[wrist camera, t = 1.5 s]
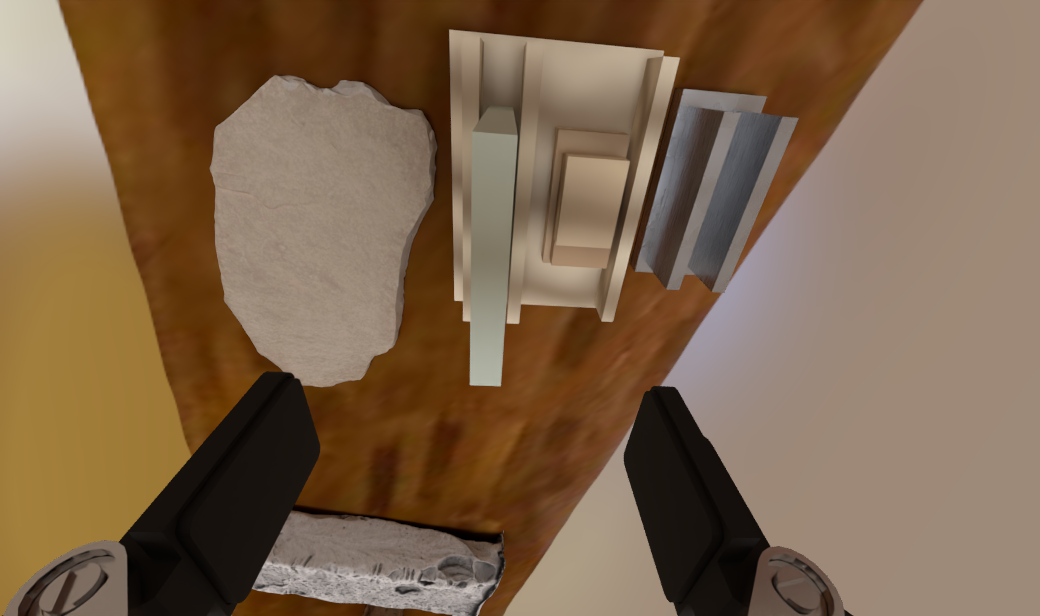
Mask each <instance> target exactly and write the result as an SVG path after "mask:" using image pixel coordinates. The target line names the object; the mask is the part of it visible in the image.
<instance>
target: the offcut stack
mask: <svg viewBox="0 0 1040 616" xmlns="http://www.w3.org/2000/svg"><path fill="white" fill-rule="evenodd" d="M629 139H630V135H629V134H627V133H624V132H612V131H600V130H588V129H576V128H564V127H556V135H555V143H554V152H553V160H552V169H551V177H550V186H549V194H548V203H547V212H546V220H545V229H544V237H543V246H542V254H541V256H542V261H543V263H551V265H553V266H570V267H587V268H604V269H606V268H607V263H608V259H609V254H610V250H611V245H612V241H613V236H614V232H615V227H616V223H617V218H618V214H619V209H620V205H621V200H622V196H623V191H624V187H625V182H626V178H627V173H628V169H629V164H630V161H629V160H628V159H626V153H627V149H628V144H629Z"/></svg>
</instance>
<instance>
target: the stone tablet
mask: <svg viewBox="0 0 1040 616" xmlns="http://www.w3.org/2000/svg"><path fill="white" fill-rule="evenodd" d="M437 148H438V146H437V143H436V140H435V135H434V130H432V128H431V125H430V124H429V122H428V121H427V119H426V118H425V116H424V114H423V112H422V111H421V110H418V109H412V110H408V109H406V110H404V109H403V110H402V109H400V108H397V107H395V106H391V105H390V104H389V102H388V101H387V100H386V99H385V98H384V97H383V96H382V95H381V94H380V93H379V92H377V91H376V90H375V89H374V88H372V87H371V86H369V85H367V84H365V83H363V82H357V81H347V80H343V81H340V82H339V84H338V85H337V86H335V87H333V88H329V89H328V88H324V89H323V88H321V89H320V88H318V87H316V86H314V85H312V84H308V83H307V81H305V80H304V79H302V78H299V77H296V76H288V75H287V76H277V75H275V76H274V77H272V78H271V79H270V80H269V81H267V82H266V83H265V84H264V85H263V86H262V87H260V88H259V89H258V90H257V91H256V92H255V94H254V95H253V96H252V97H251V98H250V99H249V100H248V101H246V102H245V103H244V104H243V105H241V106H240V107H239V108H238V109H237V110H236V111H235V112H234V113H233V114H232V115H231V116H230V117H229V118H227V119H226V120H225V121H224V122H222V123H221V124H219V125H218V126H217V127H216V129H215V132H214V151H213V158H212V164H211V166H210V171H211V173H212V175H213V180H214V184H215V188H216V198H215V215H214V218H215V244H216V251H217V257H218V263H219V267H220V271H221V280H222V285H223V289H224V293H225V294H224V301H225V303H226V304H227V305H228V306H229V308H230V309H231V311H232V312H233V313H234V315H235V316H236V318H237V319H238V320H239V321H240V323H241V324H242V326H243V328H244V330H245V331H246V334H247V335H248V336H249V337H250V338H251V340H252V342H253V344H254V345H255V347H256V349H257V351H258V352H259V353H260V354H261V355H263V356H265V357H266V358H268V359H269V360H271V361H272V362H273V363H275V364H276V365H277V366H278V367H280V368H281V370H282V371H283V372H291V373H292V374H293V375H294V377H295V378H298V379H300V381H301V384H302V385H313V386H318V387H326V386H334V385H335V384H338V383H341V382H345V381H349V380H353V381H354V380H360V379H361V378H362V377H363V376H364V375H365V373H366V372H367V370H368V368H369V365H370V362H371V360H372V359H373V357H374V356H376V355H379V354H382V353H385V352H387V351H388V350H389V349H390V348H392V347H393V346H394V345H395V342H396V340H397V337H398V331H399V327H400V325H401V322H402V313H403V307H404V306H403V304H404V297H403V294H404V289H403V287H404V277H405V275H406V272H405V270H406V268H407V265H408V259H409V253H410V250H411V245H412V242H413V239H414V237H415V235H416V233H417V231H418V227H419V225H420V223H421V221H422V219H423V217H424V216H425V214H426V212H427V210H428V209H429V207H430V205H431V203H432V202H433V200H434V195H433V187H434V177H435V172H436V166H435V155H436V151H437Z"/></svg>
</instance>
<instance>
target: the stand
mask: <svg viewBox="0 0 1040 616" xmlns="http://www.w3.org/2000/svg"><path fill="white" fill-rule="evenodd" d="M766 98H767V97H766V96H755V95H744V94H734V93H723V92H712V91H701V90H690V89H677V88H676V89H675V93H674V97H673V101H672V105H671V108H670V112H669V116H668V120H667V124H666V128H665V132H664V135H663V139H662V143H661V147H660V151H659V155H658V159H657V162H656V166H655V170H654V174H653V178H652V182H651V186H650V190H649V193H648V197H647V201H646V205H645V209H644V213H643V217H642V220H641V224H640V228H639V232H638V236H637V240H636V244H635V247H634V251H633V255H632V259H631V263H630V265H631V266H632V268H633V269H634V271H636V272H653V273H654V274H655V275H656V276H657V278H658V279H659V280H660V282H661V283H662V284H663V286H664V287H665V288H666V289H669V290H679V289H680V286H681V283H682V280H683V277H684V274H687V275H696V276H697V277H698V278H699V279H700V280H701V281H702V282H703V283H704V284H705V285H706V286H707V287H708V288H709V290H710V291H711V292H722V293H724V292H725V290H726V287H727V285H728V283H729V280H730V278H731V276H732V273H733V271H734V269H735V266H736V264H737V262H738V259H739V257H740V255H741V252H742V250H743V248H744V245H745V243H746V241H747V238H748V236H749V234H750V231H751V229H752V226H753V224H754V222H755V219H756V217H757V215H758V212H759V210H760V208H761V205H762V203H763V201H764V198H765V196H766V194H767V191H768V189H769V187H770V184H771V182H772V180H773V177H774V175H775V173H776V170H777V168H778V166H779V163H780V161H781V159H782V156H783V154H784V151H785V149H786V147H787V144H788V142H789V140H790V137H791V135H792V133H793V130H794V128H795V126H796V123H797V121H798V119H799V118H793V117H786V116H778V115H771V114H764V113H761V111H762V109H763V106H764V103H765V101H766Z"/></svg>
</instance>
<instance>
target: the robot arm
mask: <svg viewBox="0 0 1040 616" xmlns="http://www.w3.org/2000/svg"><path fill="white" fill-rule="evenodd" d="M319 454H320V443H319V440H318V436H317V433H316V430H315V427H314V423H313V420H312V417H311V413H310V410H309V407H308V404H307V400H306V397H305V394H304V390H303V387H302V384H301V381H300V379H298V378H295V377H294V375H293V374H292V373H291V372H269V371H267V372H265V373H263V374H262V375H261V376H260V377H259V378H258V380H257V381H256V382H255V383H254V384H253V385H252V387H251V388H250V389H249V390H248V391H247V393H246V394H245V395H244V396H243V397H242V398H241V400H240V401H239V402H238V403H237V404H236V405H235V407H234V408H233V409H232V410H231V411H230V412H229V414H228V415H227V416H226V417H225V418H224V419H223V421H222V422H221V423H220V424H219V425H218V426H217V428H216V429H215V430H214V431H213V432H212V433H211V434H210V436H209V437H208V438H207V439H206V440H205V441H204V443H203V444H202V445H201V446H200V447H199V448H198V450H197V451H196V452H195V453H194V454H193V455H192V457H191V458H190V459H189V460H188V461H187V463H186V464H185V465H184V466H183V467H182V468H181V470H180V471H179V472H178V473H177V474H176V475H175V477H174V478H173V479H172V480H171V481H170V482H169V484H168V485H167V486H166V487H165V488H164V490H163V491H162V492H161V493H160V494H159V495H158V496H157V498H156V499H155V500H154V501H153V502H152V503H151V505H150V506H149V507H148V508H147V509H146V511H145V512H144V513H143V514H142V515H141V516H140V518H139V519H138V520H137V521H136V522H135V523H134V525H133V526H132V527H131V528H130V529H129V530H128V532H127V533H126V534H125V535H124V536H123V537H122V539H121V540H120V541H119V542H117V541H107V540H104V541H98V542H93V543H89V544H86V545H83V546H81V547H78V548H76V549H73V550H71V551H69V552H67V553H66V554H64V555H62V556H60V557H58V558H57V559H55V560H53V561H52V562H50V563H49V564H48V565H46V566H45V567H44V568H42V569H41V570H39V571H38V572H37V573H35V574H34V575H33V576H32V577H31V578H30V579H29V580H28V581H27V582H26V583H25V584H24V585H23V586H22V587H21V588H20V589H19V591H18V592H17V593H16V594H15V596H14V597H13V598H12V600H11V601H10V602H9V604H8V606H7V609H6V611H5V613H4V615H3V616H231V614H232V613H233V611H234V609H235V607H236V605H237V603H241V602H242V601H244V600H245V599H246V597H247V596H248V594H249V593H250V591H251V589H252V587H253V585H254V583H255V581H256V579H257V577H258V575H259V573H260V571H261V569H262V567H263V565H264V563H265V562H266V560H267V558H268V556H269V554H270V552H271V550H272V548H273V546H274V544H275V542H276V540H277V538H278V536H279V534H280V532H281V530H282V528H283V526H284V524H285V522H286V520H287V518H288V516H289V514H290V512H291V511H292V509H293V507H294V505H295V503H296V501H297V499H298V497H299V495H300V493H301V491H302V489H303V487H304V485H305V483H306V481H307V479H308V477H309V475H310V473H311V471H312V469H313V467H314V465H315V463H316V461H317V459H318V457H319ZM624 465H625V468H626V472H627V475H628V478H629V481H630V484H631V488H632V491H633V494H634V497H635V501H636V504H637V507H638V510H639V513H640V517H641V520H642V523H643V526H644V530H645V533H646V536H647V539H648V543H649V546H650V549H651V552H652V555H653V559H654V562H655V565H656V568H657V572H658V575H659V578H660V581H661V585H662V588H663V591H664V594H665V596H666V598H667V600H668V601H669V602H673V603H674V605H675V609H676V611H677V615H678V616H853V615H851V614H850V613H848V612H847V611H846V610H844V608H843V602H842V600H841V598H840V596H839V594H838V591H837V589H836V588H835V586H834V585H833V584H832V582H831V581H830V579H829V578H828V577H827V575H826V574H825V573H824V572H823V571H822V570H821V569H820V568H819V567H818V566H817V565H816V564H814V563H813V562H812V561H810V560H809V559H808V558H806V557H805V556H804V555H802V554H800V553H797V552H796V551H794V550H792V549H788V548H784V547H780V546H777V547H770V545H769V543H768V541H767V540H766V538H765V536H764V535H763V533H762V531H761V529H760V528H759V526H758V524H757V522H756V521H755V519H754V517H753V515H752V514H751V512H750V510H749V508H748V507H747V505H746V503H745V502H744V500H743V498H742V496H741V494H740V493H739V491H738V489H737V487H736V486H735V484H734V482H733V480H732V479H731V477H730V475H729V473H728V472H727V470H726V468H725V466H724V465H723V463H722V461H721V459H720V458H719V456H718V454H717V452H716V451H715V449H714V447H713V445H712V444H711V443H710V441H709V440H708V439H707V438H705V437H704V436H703V435H702V433H701V431H700V429H699V427H698V426H697V424H696V422H695V420H694V419H693V417H692V415H691V413H690V411H689V410H688V408H687V406H686V405H685V403H684V401H683V399H682V397H681V395H680V394H679V392H678V390H677V389H676V388H675V387H665V386H653V387H652V388H651V390H650V391H646V392H645V394H644V396H643V399H642V402H641V405H640V408H639V411H638V414H637V417H636V420H635V423H634V425H633V428H632V431H631V434H630V437H629V440H628V443H627V446H626V449H625V452H624Z"/></svg>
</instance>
